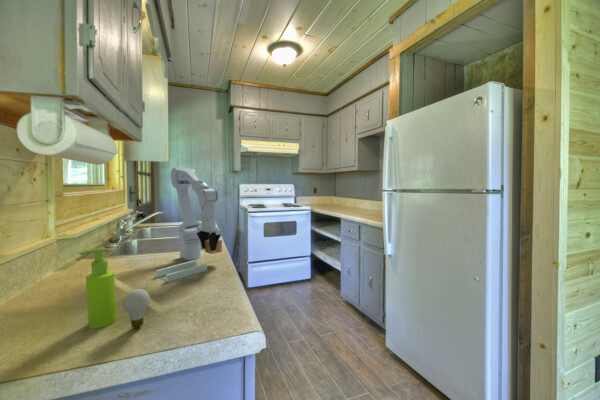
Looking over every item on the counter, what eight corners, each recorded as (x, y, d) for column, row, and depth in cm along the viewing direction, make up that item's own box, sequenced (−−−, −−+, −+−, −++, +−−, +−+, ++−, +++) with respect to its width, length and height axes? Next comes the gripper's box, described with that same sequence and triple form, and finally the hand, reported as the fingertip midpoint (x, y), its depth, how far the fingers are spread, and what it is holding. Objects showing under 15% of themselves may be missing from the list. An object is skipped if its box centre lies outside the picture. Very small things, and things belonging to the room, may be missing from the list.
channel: (154, 279, 101) (153, 269, 100) (192, 268, 113) (192, 259, 113) (170, 287, 94) (170, 276, 93) (209, 274, 106) (209, 264, 106)
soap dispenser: (81, 324, 70) (77, 249, 68) (113, 314, 75) (109, 244, 73) (85, 333, 66) (81, 253, 64) (118, 322, 71) (115, 248, 69)
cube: (204, 240, 114) (215, 238, 117) (205, 251, 114) (215, 249, 118) (211, 242, 110) (221, 240, 114) (211, 254, 111) (221, 251, 114)
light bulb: (122, 336, 64) (120, 296, 64) (125, 324, 70) (123, 287, 69) (150, 330, 67) (148, 292, 66) (151, 319, 72) (149, 283, 72)
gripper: (189, 216, 112) (190, 248, 114) (210, 220, 104) (211, 254, 105) (204, 215, 118) (205, 245, 119) (225, 218, 110) (225, 250, 111)
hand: (209, 249), depth 112 cm, fingers closed on cube, 5 cm apart
